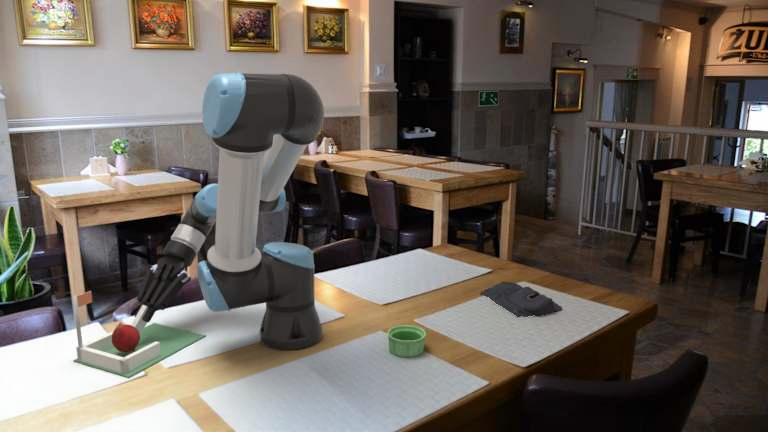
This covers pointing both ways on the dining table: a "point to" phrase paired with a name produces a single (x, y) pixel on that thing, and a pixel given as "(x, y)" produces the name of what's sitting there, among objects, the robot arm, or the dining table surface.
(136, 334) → the onion
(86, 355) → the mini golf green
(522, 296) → the dark grey lumpy slab
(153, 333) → the felt mat
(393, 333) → the ramekin
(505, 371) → the dining table surface
